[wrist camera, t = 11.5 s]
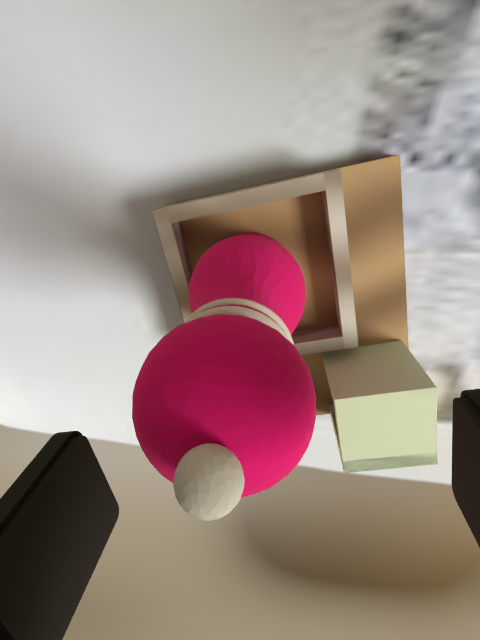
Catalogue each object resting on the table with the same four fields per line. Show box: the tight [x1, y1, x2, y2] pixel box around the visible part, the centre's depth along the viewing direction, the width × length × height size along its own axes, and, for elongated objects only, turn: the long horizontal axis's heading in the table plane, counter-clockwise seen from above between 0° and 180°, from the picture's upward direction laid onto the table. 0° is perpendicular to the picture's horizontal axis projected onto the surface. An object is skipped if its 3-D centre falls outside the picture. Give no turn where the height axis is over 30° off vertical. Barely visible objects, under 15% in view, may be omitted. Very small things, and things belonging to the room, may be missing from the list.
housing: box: [322, 340, 437, 473], centre depth 26 cm, size 6×6×6 cm
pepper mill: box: [132, 232, 316, 520], centre depth 18 cm, size 7×7×20 cm
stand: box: [152, 155, 408, 415], centre depth 27 cm, size 19×16×4 cm
